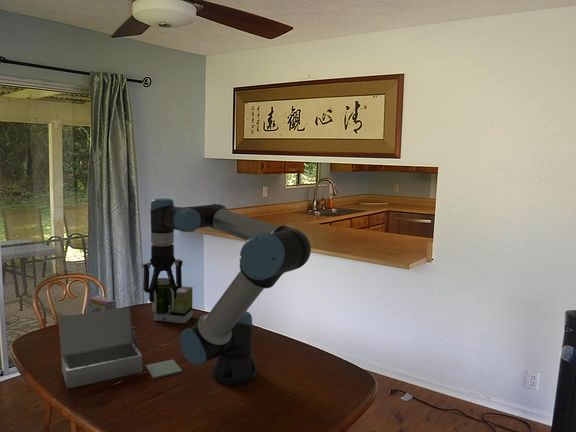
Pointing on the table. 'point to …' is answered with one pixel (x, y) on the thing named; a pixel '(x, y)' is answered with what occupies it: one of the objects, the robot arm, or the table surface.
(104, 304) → the candy bar box
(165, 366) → the pad
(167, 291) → the beer can
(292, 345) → the table surface
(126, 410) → the table surface
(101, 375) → the case
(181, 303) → the tea box
